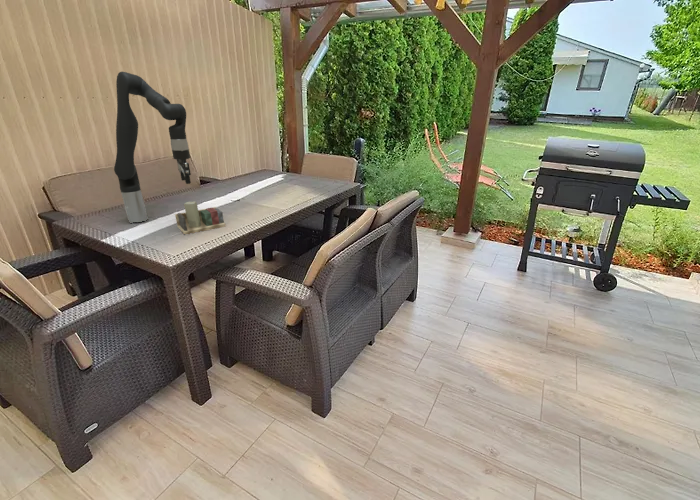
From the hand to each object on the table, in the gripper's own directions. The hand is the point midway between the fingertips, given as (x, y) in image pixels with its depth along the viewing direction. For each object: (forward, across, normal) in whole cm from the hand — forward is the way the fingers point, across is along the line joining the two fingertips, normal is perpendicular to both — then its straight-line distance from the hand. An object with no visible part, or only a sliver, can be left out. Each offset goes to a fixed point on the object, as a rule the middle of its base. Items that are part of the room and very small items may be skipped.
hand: (186, 181), depth 174 cm
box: (+23, +2, 0) cm, 23 cm away
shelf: (+25, +1, +4) cm, 25 cm away
